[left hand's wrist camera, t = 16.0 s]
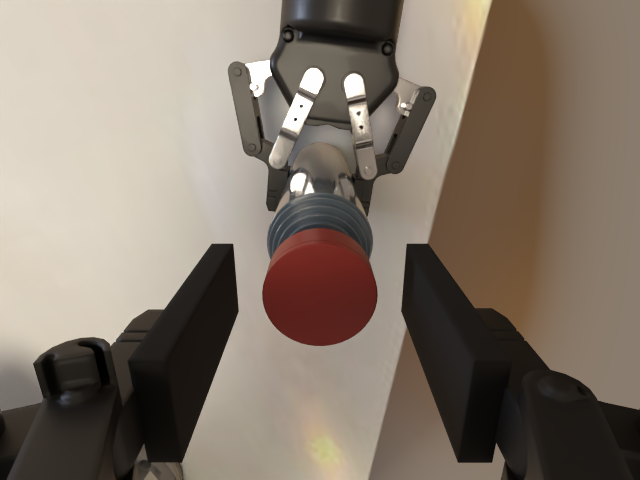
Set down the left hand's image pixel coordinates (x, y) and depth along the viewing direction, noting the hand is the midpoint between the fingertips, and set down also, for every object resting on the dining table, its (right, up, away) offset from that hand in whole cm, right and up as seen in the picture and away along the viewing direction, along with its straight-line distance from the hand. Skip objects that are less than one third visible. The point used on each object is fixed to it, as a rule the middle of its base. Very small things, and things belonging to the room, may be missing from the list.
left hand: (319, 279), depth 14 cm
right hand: (0, +3, +15) cm, 16 cm away
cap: (0, 0, -1) cm, 1 cm away
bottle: (0, +8, +21) cm, 22 cm away
